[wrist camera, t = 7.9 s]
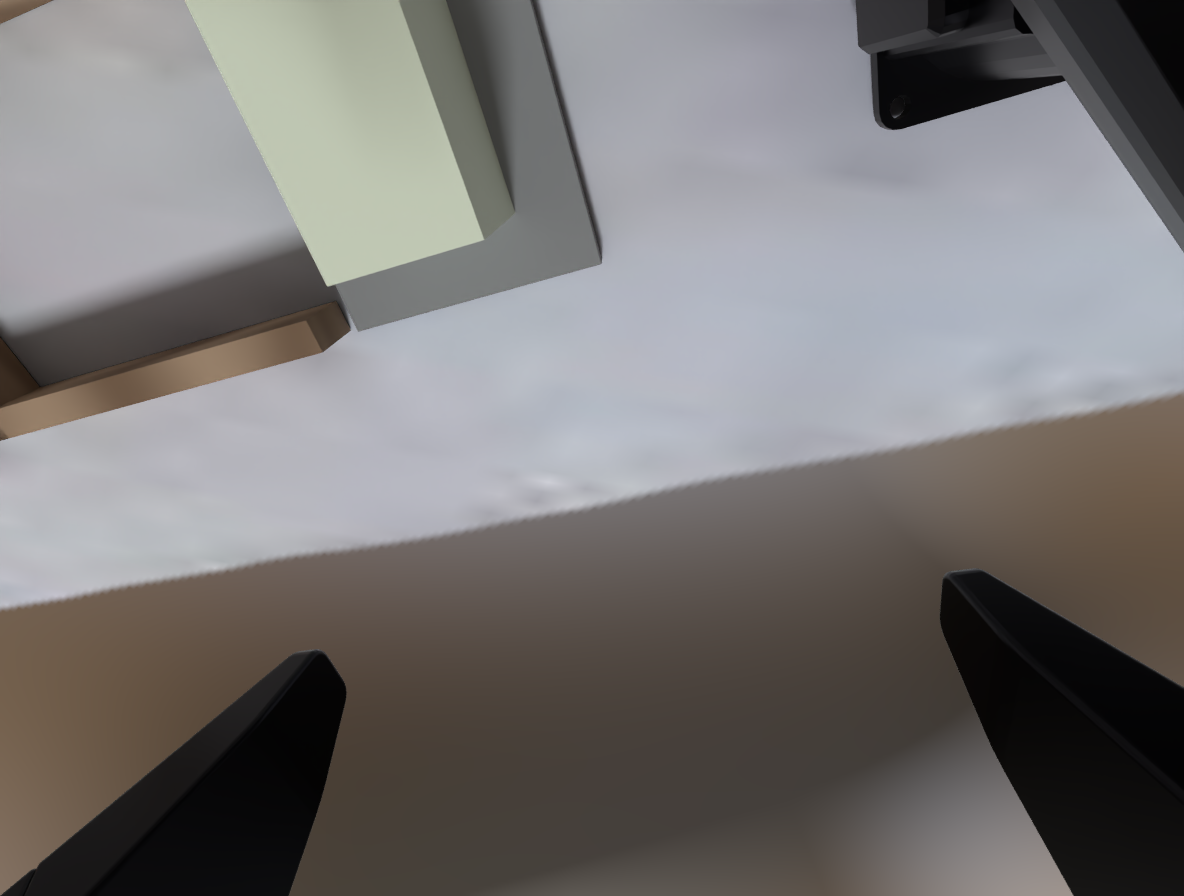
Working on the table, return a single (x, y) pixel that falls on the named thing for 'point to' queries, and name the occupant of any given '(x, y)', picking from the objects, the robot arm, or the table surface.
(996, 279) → the table surface
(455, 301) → the mat
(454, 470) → the table surface
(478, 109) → the sage block
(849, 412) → the table surface
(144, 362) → the frame
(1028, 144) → the table surface
